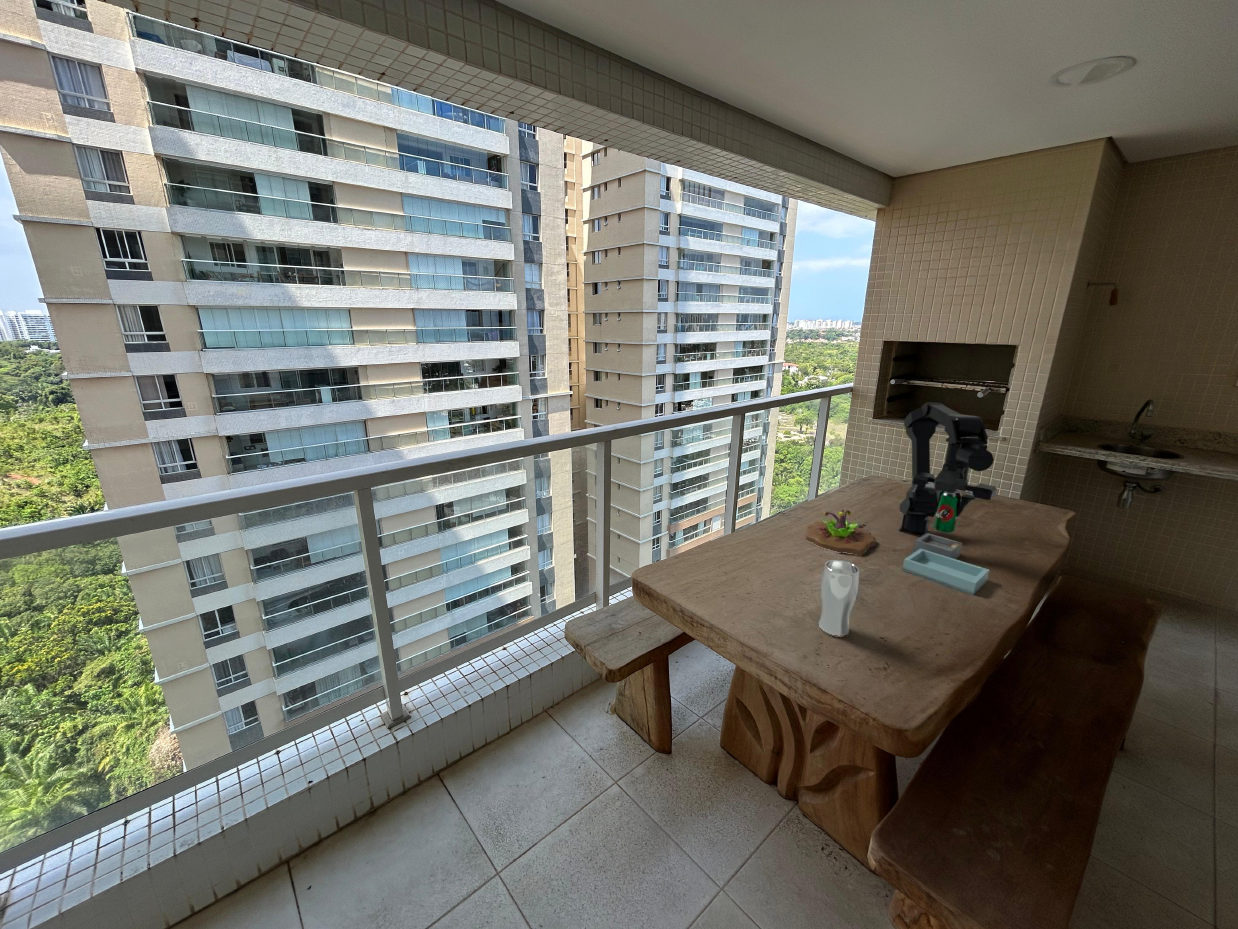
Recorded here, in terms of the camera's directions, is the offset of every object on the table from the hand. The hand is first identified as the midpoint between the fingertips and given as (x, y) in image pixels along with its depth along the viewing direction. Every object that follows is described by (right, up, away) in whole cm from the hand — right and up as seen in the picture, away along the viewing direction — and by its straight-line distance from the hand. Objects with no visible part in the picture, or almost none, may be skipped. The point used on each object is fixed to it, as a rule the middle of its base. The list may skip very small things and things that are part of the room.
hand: (946, 513), depth 130 cm
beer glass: (-47, -22, -31) cm, 61 cm away
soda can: (0, -5, +1) cm, 5 cm away
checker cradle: (-1, -12, +4) cm, 13 cm away
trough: (-7, -16, -9) cm, 19 cm away
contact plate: (-1, -12, +4) cm, 13 cm away
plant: (-25, -10, +13) cm, 30 cm away
